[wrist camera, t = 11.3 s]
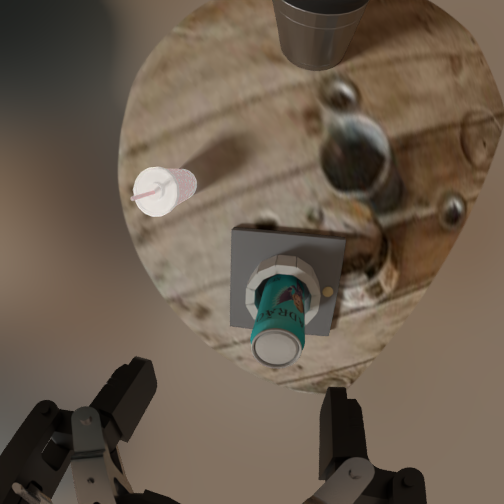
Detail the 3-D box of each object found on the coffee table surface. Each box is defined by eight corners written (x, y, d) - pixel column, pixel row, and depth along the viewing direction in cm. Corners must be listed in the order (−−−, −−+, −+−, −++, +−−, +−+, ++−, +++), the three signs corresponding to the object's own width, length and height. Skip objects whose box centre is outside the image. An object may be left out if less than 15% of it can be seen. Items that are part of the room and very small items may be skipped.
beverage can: (312, 284, 41) (316, 347, 27) (288, 311, 43) (281, 378, 29) (280, 261, 40) (270, 316, 26) (257, 289, 42) (237, 352, 28)
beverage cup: (162, 201, 42) (108, 222, 29) (166, 161, 40) (111, 167, 27) (199, 207, 41) (155, 232, 28) (204, 166, 39) (160, 172, 26)
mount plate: (233, 227, 41) (224, 237, 36) (344, 237, 39) (351, 249, 34) (231, 321, 47) (224, 340, 41) (327, 331, 44) (330, 351, 39)
